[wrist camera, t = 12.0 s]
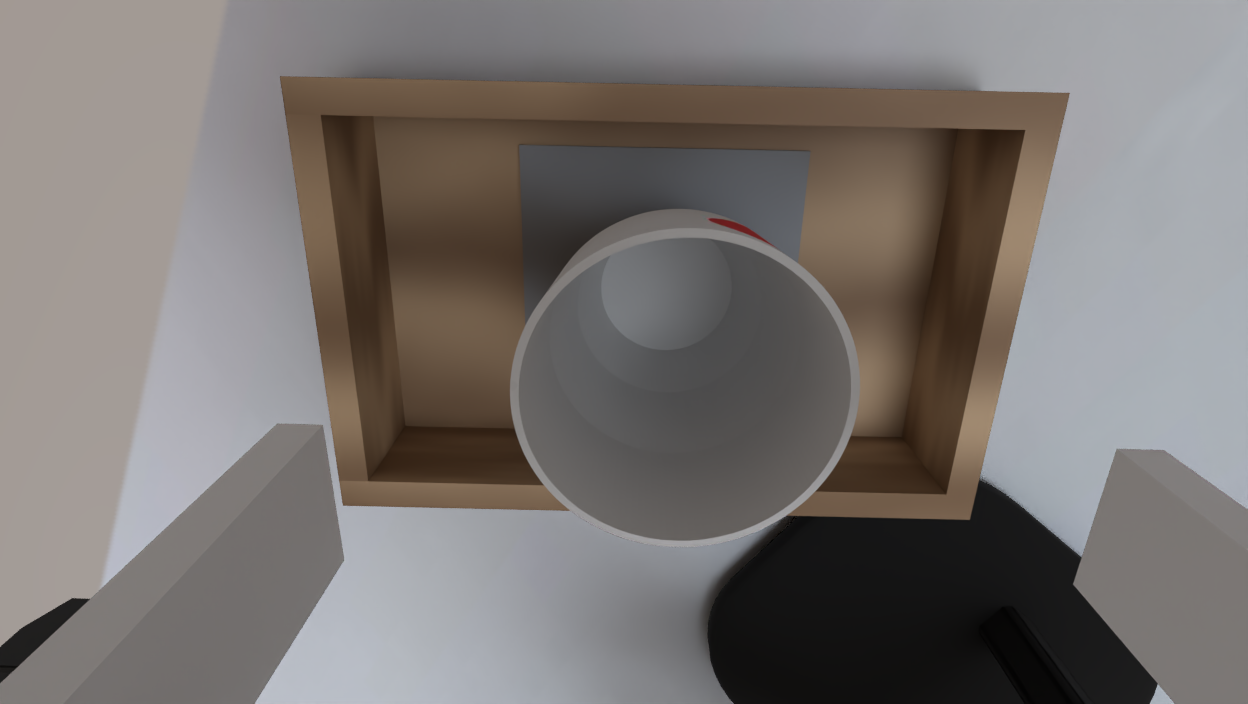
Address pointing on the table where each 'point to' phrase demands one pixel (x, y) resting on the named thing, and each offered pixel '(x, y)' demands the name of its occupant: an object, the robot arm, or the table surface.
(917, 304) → the wooden box
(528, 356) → the cup
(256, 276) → the table surface
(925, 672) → the desk fan
